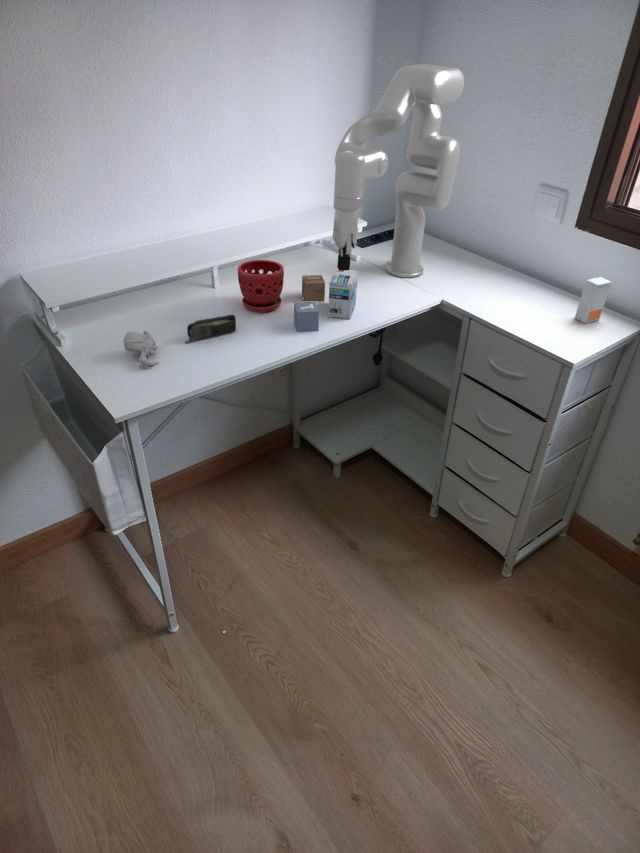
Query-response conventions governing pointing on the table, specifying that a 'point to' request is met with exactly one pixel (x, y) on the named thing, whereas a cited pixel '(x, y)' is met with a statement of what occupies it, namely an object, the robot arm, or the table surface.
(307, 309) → the slate digit block
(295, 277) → the table surface
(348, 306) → the light bulb box
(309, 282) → the walnut digit block
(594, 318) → the skincare box
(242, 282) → the plant pot
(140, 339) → the toy character
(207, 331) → the dark green pouch
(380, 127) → the robot arm
